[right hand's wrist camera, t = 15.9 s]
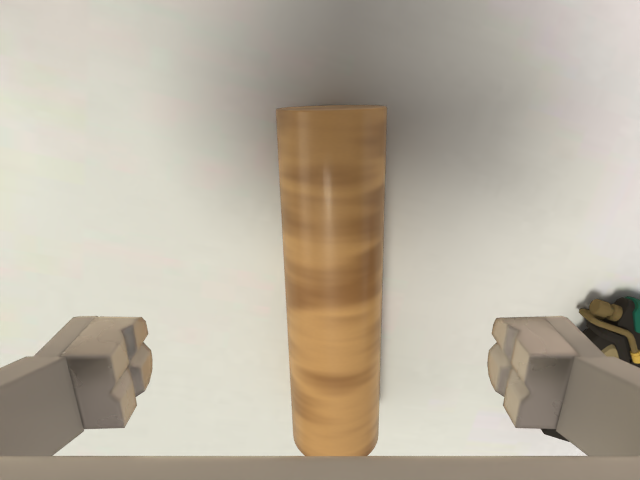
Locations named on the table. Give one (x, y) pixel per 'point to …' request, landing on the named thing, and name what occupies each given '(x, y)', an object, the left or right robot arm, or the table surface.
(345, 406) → the rod
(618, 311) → the spray gun
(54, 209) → the table surface
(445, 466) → the right robot arm
